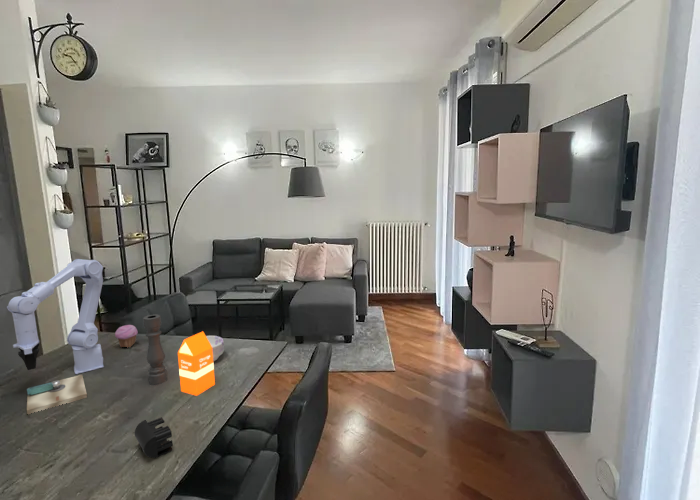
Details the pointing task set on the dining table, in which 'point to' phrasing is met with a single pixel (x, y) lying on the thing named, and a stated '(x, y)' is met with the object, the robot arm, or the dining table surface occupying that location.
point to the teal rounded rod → (43, 387)
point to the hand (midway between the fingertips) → (31, 366)
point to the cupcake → (126, 335)
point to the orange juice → (196, 364)
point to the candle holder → (155, 350)
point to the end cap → (154, 438)
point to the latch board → (58, 395)
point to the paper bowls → (216, 346)
